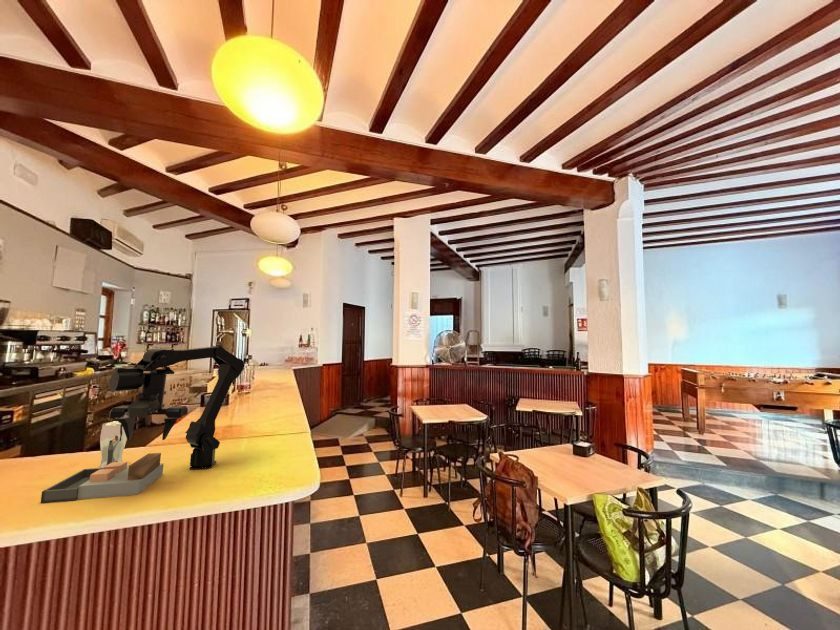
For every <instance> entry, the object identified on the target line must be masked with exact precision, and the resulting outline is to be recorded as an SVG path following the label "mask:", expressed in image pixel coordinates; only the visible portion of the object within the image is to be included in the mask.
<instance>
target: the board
mask: <svg viewBox="0 0 840 630" xmlns="http://www.w3.org/2000/svg"><path fill="white" fill-rule="evenodd" d="M128 469H129V465H128V464H127V468H126V469H124V470H123V471H121V472H120V473H115V476H114V477H112V478H110V479H109V480H107V481H98V482H90V480H88V481H87V482H85V483H83V484H82V485H80V486H79V489H78V498H77V500H85V499H88V500H89V499H97V498H109V497H111V498H114V497H124V496H126V497H127V496H134V495H136V496H137V495H140V493H142V492H143V491H144V490H145V489H147V488H148V487H149V486H150V485H151V484H152V483H153V484H154V482H155V481H156V480H158V479H159V478H160V477H161V476H163V473H164V472H163V471H164V463H163V462H162V463H161V462H160V466H159V467H157V468H156V469H155V470H153V471H152V472H151V473H149V474H148V475H147V476H145V477H144V478H143V479H136V480H127V479H128Z"/></svg>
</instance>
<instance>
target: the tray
mask: <svg viewBox="0 0 840 630" xmlns="http://www.w3.org/2000/svg"><path fill="white" fill-rule="evenodd" d="M101 469H104V468H99V467H97V468H83V469H81V470H80V471H78V472H75V473H74V474H72V475H71V476H69V477H67V478H65V479H62V480H61V481H59V482H57V483H55V484H53V485H52V486H51V485H50V487H48V488H46V489H44V490H42V491H41V495H40V504H46V503H59V502H70V501H71V502H72V501H77V500H78V499H77V498H78V489H79V486H80V485H82V484H83V483H85V482H87V481H88V480H90V475H91V474H93V473H94V472H96V471H98V470H101Z"/></svg>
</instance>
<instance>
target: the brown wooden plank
mask: <svg viewBox="0 0 840 630" xmlns="http://www.w3.org/2000/svg"><path fill="white" fill-rule="evenodd" d="M161 457H162V452H153V453H147V454H146V455H144V456H142V457H141V458H139V459H137V460H136V461H134V462H133V463H131V464H130V465H129V469H128V479H127V480H136V479H143V478H144V477H145V476H147V475H148V474H149V473H151V472H152V471H153V470H155V469H156V468H157V467H159V466H160V464H161V459H162V458H161Z"/></svg>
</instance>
